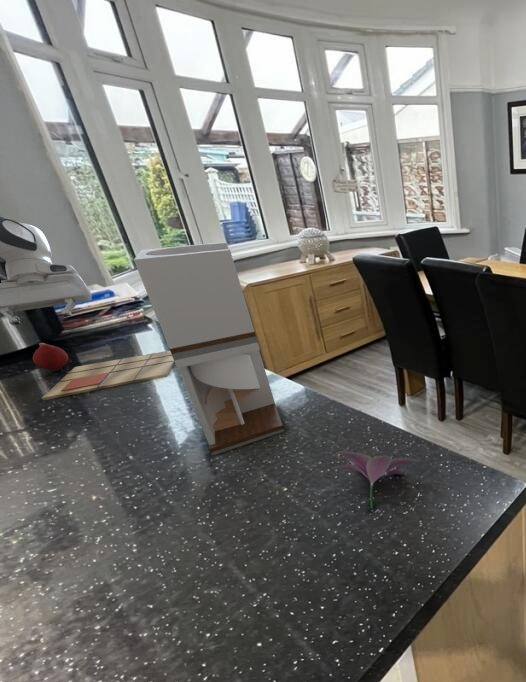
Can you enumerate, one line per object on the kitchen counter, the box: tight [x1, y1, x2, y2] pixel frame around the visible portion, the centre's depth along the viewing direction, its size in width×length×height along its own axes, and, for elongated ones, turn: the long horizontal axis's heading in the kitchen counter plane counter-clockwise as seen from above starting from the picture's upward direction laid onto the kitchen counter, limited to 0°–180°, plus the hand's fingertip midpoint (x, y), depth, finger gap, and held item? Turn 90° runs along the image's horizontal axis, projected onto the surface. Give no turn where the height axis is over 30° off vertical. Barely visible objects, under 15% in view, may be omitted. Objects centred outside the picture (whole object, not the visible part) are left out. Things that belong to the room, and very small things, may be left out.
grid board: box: [41, 350, 175, 401], centre depth 100 cm, size 22×18×2 cm
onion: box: [32, 342, 69, 372], centre depth 101 cm, size 6×6×8 cm
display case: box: [133, 241, 285, 456], centre depth 69 cm, size 11×11×35 cm
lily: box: [331, 450, 421, 509], centre depth 59 cm, size 12×12×10 cm
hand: (42, 319), depth 105 cm, fingers open, 8 cm apart
